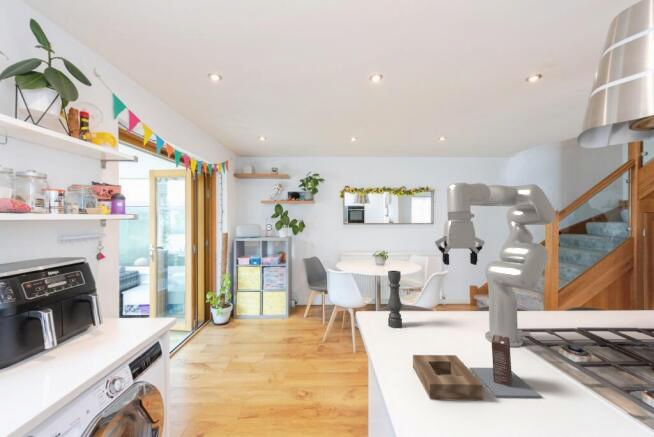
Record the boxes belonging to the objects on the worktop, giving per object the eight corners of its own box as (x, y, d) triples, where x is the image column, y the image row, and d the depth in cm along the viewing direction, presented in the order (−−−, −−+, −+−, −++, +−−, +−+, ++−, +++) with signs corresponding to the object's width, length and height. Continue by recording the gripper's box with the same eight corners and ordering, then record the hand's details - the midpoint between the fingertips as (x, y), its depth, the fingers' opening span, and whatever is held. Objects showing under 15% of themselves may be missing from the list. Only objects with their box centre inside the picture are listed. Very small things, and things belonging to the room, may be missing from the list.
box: (494, 373, 83) (493, 333, 83) (512, 378, 80) (511, 337, 80) (492, 382, 78) (491, 340, 78) (510, 387, 75) (509, 344, 75)
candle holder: (394, 329, 119) (393, 273, 120) (385, 324, 125) (384, 271, 125) (404, 326, 122) (404, 272, 123) (395, 322, 128) (394, 270, 128)
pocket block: (456, 367, 87) (455, 355, 87) (483, 399, 71) (482, 384, 71) (413, 367, 88) (412, 354, 88) (430, 399, 72) (429, 384, 72)
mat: (508, 369, 86) (508, 367, 86) (541, 398, 72) (541, 395, 72) (470, 369, 86) (470, 367, 86) (496, 397, 72) (496, 395, 72)
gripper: (477, 217, 100) (478, 262, 100) (431, 217, 101) (432, 263, 101) (489, 216, 93) (490, 265, 93) (438, 217, 94) (439, 266, 93)
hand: (459, 264), depth 97 cm, fingers open, 9 cm apart
